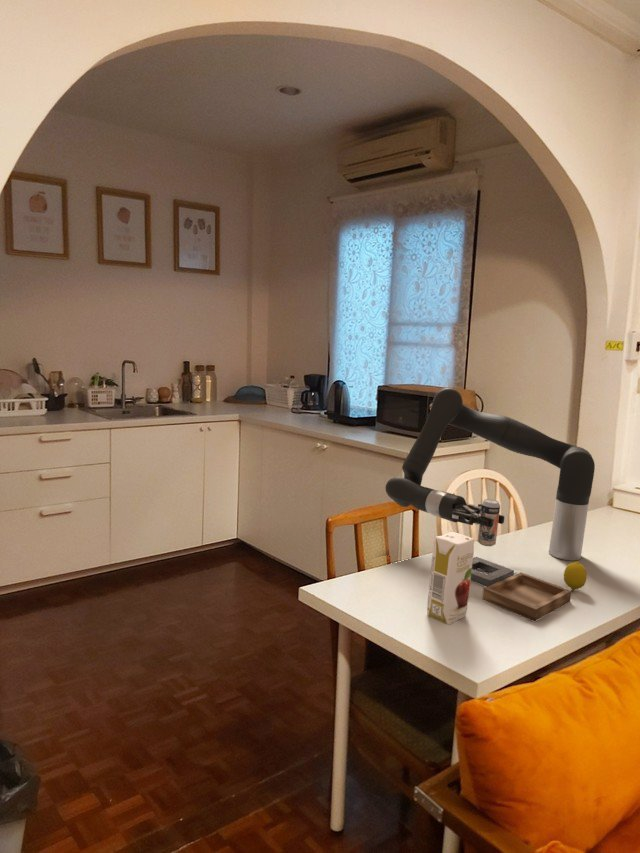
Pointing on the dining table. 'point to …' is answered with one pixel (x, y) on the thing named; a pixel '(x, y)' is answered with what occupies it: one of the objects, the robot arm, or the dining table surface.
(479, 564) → the socket block
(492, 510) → the beer can
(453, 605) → the juice carton
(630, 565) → the dining table surface
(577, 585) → the lemon
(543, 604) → the tray
